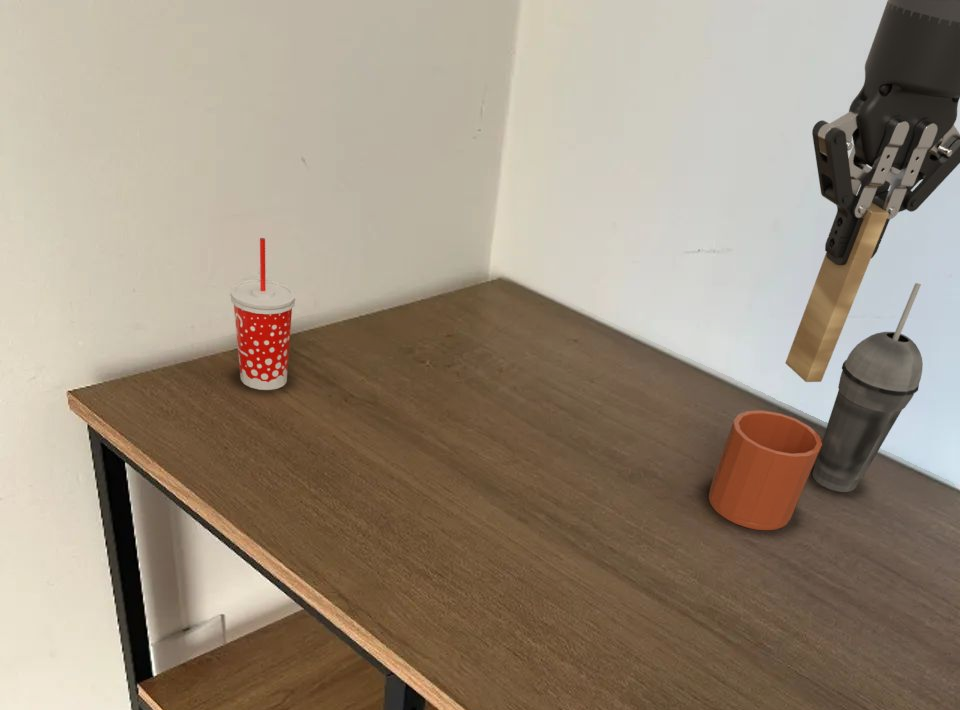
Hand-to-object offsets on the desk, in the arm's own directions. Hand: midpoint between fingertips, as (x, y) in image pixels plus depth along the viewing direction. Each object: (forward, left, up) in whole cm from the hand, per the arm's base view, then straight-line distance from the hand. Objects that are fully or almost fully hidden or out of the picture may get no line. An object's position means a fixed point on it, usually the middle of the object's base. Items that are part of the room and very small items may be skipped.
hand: (846, 261), depth 77 cm
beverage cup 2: (-12, -4, -24) cm, 27 cm away
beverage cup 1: (+42, -27, -24) cm, 55 cm away
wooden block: (0, 0, -10) cm, 10 cm away
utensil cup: (0, 0, -24) cm, 24 cm away
